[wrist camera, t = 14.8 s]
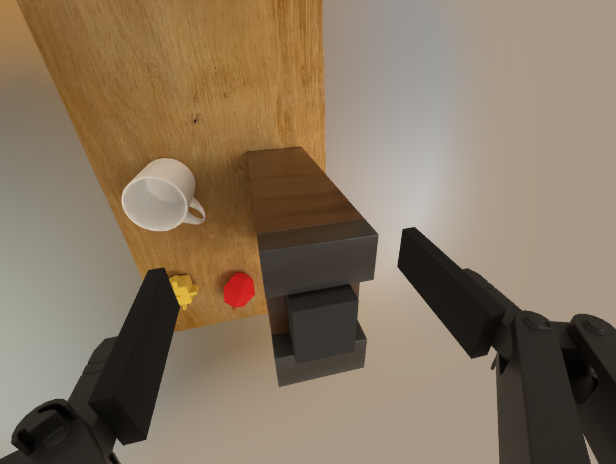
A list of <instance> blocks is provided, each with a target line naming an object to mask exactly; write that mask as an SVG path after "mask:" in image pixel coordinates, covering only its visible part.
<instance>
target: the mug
mask: <svg viewBox="0 0 616 464" xmlns="http://www.w3.org/2000/svg"><path fill="white" fill-rule="evenodd" d="M195 188H196V183H195V178H194V176H193V174H192V172H191V171H190V169H189V168H188V167H187V166H186V165H184V164H183V163H181V162H179V161H177V160H174V159H169V158H161V159H157V160H154V161H152V162H150V163H149V164H148V165H147V166H146V167H145V168H144V169H143V170H142V171H141V172H140V173H139V174H138V175H137V176H136V177H135V178H134V179H133V180H132V181H131V182H130V183H129V184H128V185H127V186H126V187H125V189H124V191H123V193H122V206H123V209H124V211H125V213H126V215H127V216H128V217H129V218H130V219H131V220H132V221H133V222H134V223H135V224H137V225H138V226H140V227H142V228H145V229H148V230H152V231H167V230H171V229H173V228H175V227H177V226H178V225H180V224H181V223H182V222H185V223H189V224H201V223H203V222H204V221H205V212H204V209H203V207H202V206H201V204H200V203H199V202H198V201H197V200H196V199H195V198H194V192H195ZM189 206H190V207H192V208H195V209H196V210H198V211H199V212H200V213H201V214H202V215H203V219H199V218H197V217H195V216H193V215H192V214H191V213H189V212H188V209H189Z"/></svg>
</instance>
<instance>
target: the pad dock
mask: <svg viewBox="0 0 616 464" xmlns="http://www.w3.org/2000/svg"><path fill="white" fill-rule="evenodd" d="M247 157H248V166H249V174H250V182H251V191H252V199H253V207H254V216H255V224H256V233H257V241H258V249H259V257H260V263H261V270H262V277H263V284H264V291H265V297H266V301H267V308H268V314H269V321H270V328H271V335H272V343H273V350H274V358H275V365H276V372H277V378H278V385H279V387H281V386H286V385H290V384H294V383H299V382H302V381H307V380H311V379H315V378H320V377H324V376H328V375H332V374H337V373H342V372H346V371H350V370H354V369H359V368H363V367H364V362H365V353H366V344H367V338H366V336H365V334H364V332H363V330H362V328H361V326H360V324H359V322H358V320H357V327H356V340H355V351H354V352H350V353H345V354H340V355H336V356H331V357H327V358H322V359H318V360H313V361H309V362H304V363H300V364H296V361H295V356H294V351H293V346H292V341H291V336H290V331H289V324H288V313H287V303H286V295H290V294H296V293H301V292H307V291H312V290H318V289H324V288H329V287H335V286H341V285H346V284H350V285H351V287H352V289H353V290H354V292H355V294H356V296H357V298H358V297H359V284H360V282H363V281H369V280H373V279H374V271H375V262H376V253H377V244H378V233H377V232H376V231H375V230H374V229H373V228H372V227H371V226H370V224H369V223H368V222H367V221H366V220H365V219H364V218H363V216H362V215H361V214H360V213H359V212H358V211H357V210H356V208H355V207H354V206H353V205H352V204H351V203H350V202H349V201H348V199H347V198H346V197H345V196H344V195H343V194H342V193H341V191H340V190H339V189H338V188H337V187H336V186H335V185H334V183H333V182H332V181H331V180H330V179H329V178H328V177H327V175H326V174H325V173H324V172H323V171H322V170H321V169H320V167H319V166H318V165H317V164H316V163H315V162H314V161H313V159H312V158H311V157H310V156H309V155H308V154H307V153H306V151H305V150H304V149H303V148H302V147H294V148H283V149H271V150H260V151H248V152H247Z"/></svg>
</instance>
